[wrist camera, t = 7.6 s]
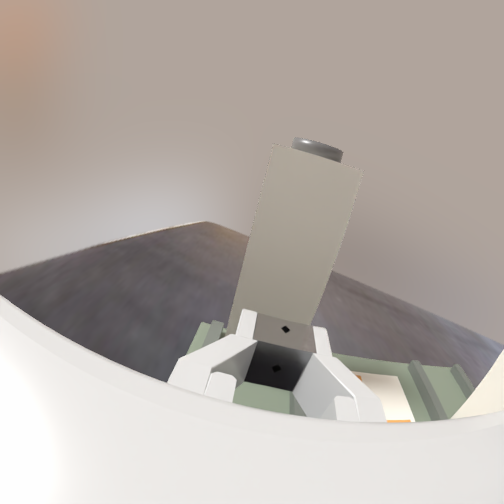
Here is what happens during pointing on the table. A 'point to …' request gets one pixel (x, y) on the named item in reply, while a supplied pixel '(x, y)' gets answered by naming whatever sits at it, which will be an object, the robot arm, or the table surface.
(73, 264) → the table surface
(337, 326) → the table surface
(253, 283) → the left switch
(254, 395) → the switch unit
